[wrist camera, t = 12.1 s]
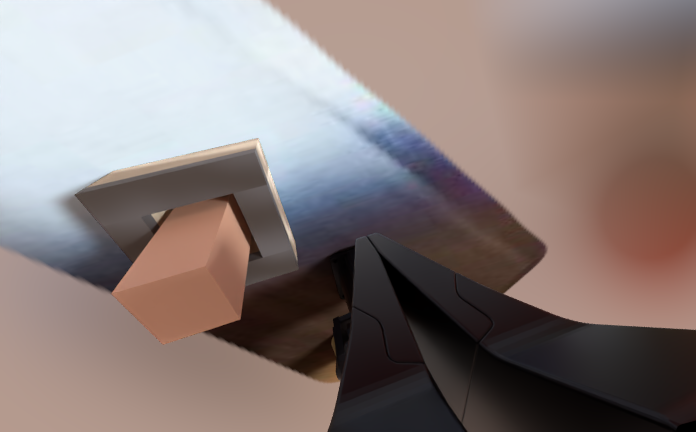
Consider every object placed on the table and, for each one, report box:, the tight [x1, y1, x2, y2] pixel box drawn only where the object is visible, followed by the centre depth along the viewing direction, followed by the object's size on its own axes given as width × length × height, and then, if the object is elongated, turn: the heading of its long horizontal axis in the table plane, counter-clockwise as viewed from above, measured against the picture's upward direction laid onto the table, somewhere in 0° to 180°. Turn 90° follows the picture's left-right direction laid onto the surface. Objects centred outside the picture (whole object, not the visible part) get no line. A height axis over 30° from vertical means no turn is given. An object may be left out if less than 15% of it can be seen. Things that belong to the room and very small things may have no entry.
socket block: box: [75, 138, 299, 286], centre depth 19 cm, size 10×10×4 cm
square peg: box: [111, 194, 252, 345], centre depth 16 cm, size 4×4×10 cm
